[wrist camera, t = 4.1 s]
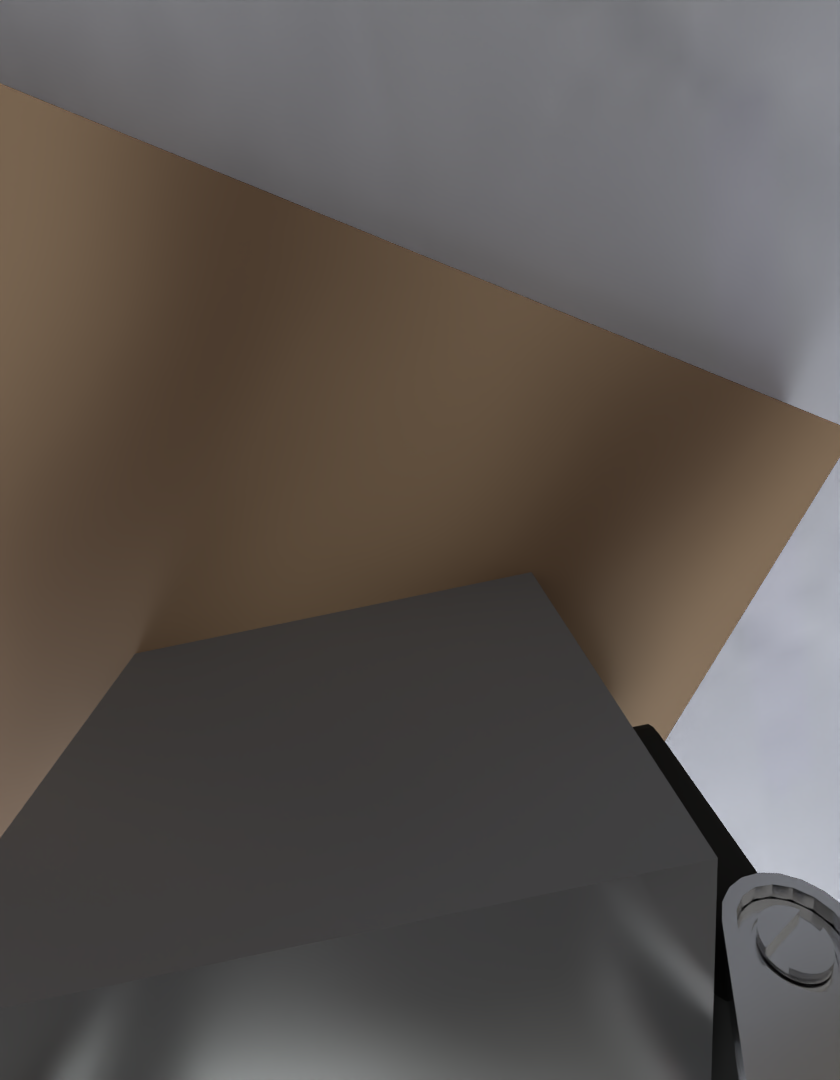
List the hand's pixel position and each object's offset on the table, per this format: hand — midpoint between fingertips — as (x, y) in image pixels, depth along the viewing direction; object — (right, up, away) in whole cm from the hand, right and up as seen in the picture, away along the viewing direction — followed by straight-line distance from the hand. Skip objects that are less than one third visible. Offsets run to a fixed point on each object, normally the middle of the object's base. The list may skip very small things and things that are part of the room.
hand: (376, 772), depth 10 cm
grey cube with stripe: (0, 0, 0) cm, 0 cm away
